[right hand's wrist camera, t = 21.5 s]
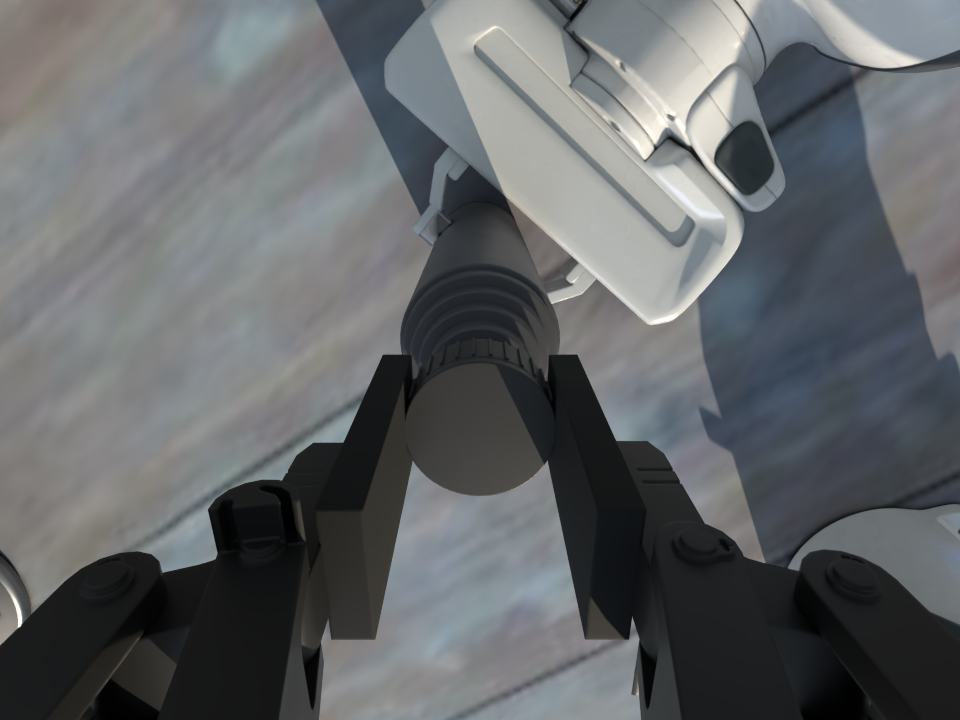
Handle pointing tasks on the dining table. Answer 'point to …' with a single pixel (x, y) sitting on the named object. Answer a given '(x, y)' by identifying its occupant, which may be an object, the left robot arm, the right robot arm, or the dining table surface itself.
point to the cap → (480, 418)
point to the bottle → (480, 291)
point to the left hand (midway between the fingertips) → (470, 276)
